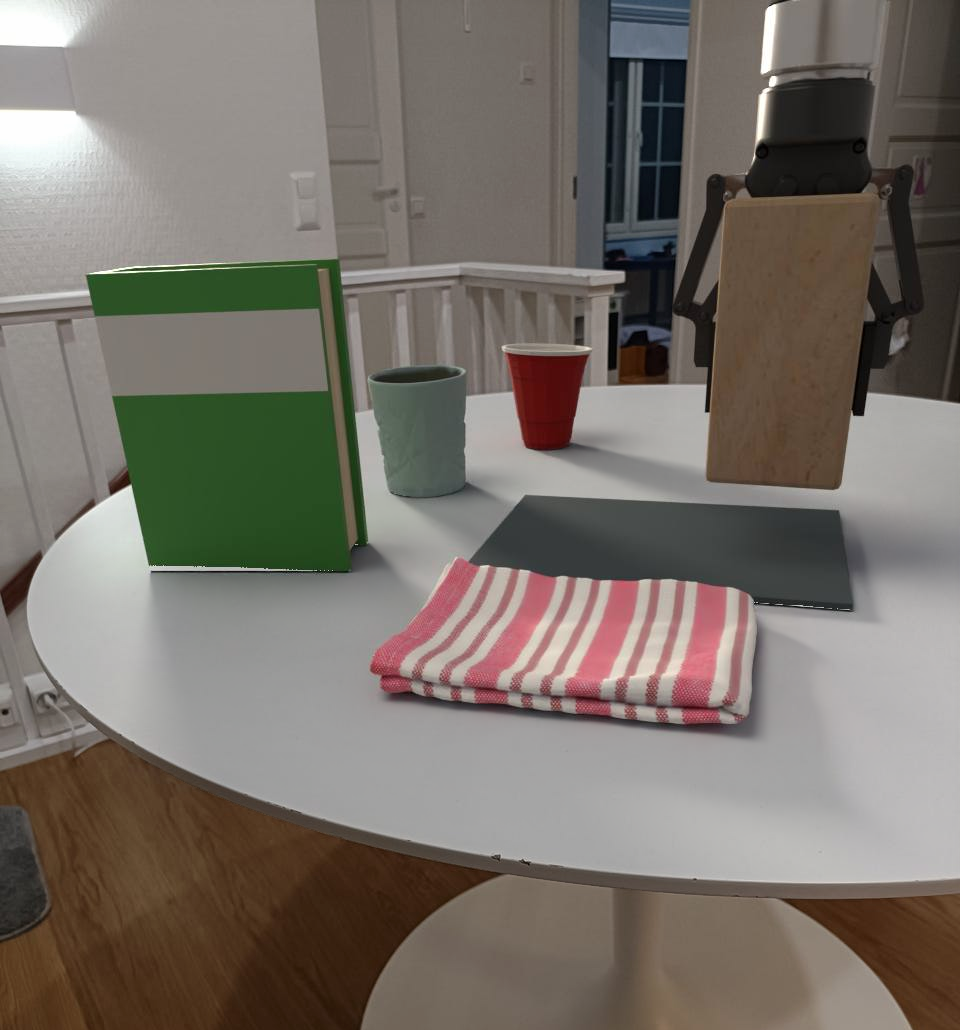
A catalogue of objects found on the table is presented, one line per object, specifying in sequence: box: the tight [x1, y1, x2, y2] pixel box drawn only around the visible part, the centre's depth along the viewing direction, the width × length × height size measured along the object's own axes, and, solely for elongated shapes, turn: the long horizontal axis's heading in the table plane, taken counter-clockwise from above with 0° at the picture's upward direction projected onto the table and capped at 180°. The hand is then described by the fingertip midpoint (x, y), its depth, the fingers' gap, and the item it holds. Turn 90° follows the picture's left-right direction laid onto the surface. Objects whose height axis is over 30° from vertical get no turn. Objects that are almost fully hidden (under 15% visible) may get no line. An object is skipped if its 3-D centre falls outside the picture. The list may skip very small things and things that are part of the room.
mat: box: [467, 494, 854, 611], centre depth 79 cm, size 30×22×1 cm
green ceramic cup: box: [367, 364, 468, 498], centre depth 96 cm, size 10×10×12 cm
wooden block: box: [704, 191, 881, 491], centre depth 69 cm, size 10×10×20 cm
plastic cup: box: [501, 343, 594, 451], centre depth 111 cm, size 11×11×12 cm
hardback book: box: [85, 257, 369, 572], centre depth 76 cm, size 18×7×24 cm, turn 84°
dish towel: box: [369, 556, 758, 725], centre depth 60 cm, size 17×23×4 cm
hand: (782, 410), depth 71 cm, fingers closed on wooden block, 10 cm apart
